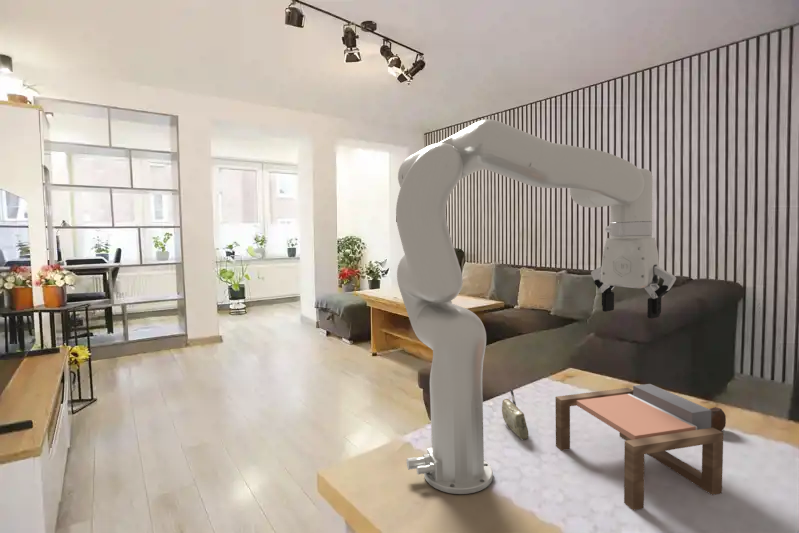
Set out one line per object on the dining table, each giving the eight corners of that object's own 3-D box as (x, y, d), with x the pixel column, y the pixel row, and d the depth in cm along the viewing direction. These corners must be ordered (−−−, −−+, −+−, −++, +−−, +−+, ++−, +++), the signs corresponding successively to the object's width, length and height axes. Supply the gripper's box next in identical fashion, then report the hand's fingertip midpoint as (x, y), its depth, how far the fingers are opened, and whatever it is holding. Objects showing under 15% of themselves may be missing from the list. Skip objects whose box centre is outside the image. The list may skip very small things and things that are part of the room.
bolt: (656, 415, 109) (721, 438, 95) (643, 408, 107) (707, 431, 93) (663, 393, 110) (729, 412, 96) (651, 386, 108) (716, 405, 94)
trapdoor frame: (633, 510, 70) (633, 446, 69) (555, 445, 92) (555, 396, 91) (721, 493, 74) (723, 432, 73) (627, 435, 95) (627, 387, 95)
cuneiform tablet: (516, 416, 107) (539, 438, 95) (499, 421, 106) (520, 444, 95) (510, 388, 106) (532, 407, 95) (493, 393, 106) (513, 413, 94)
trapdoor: (634, 453, 73) (635, 424, 73) (576, 414, 89) (576, 390, 88) (715, 440, 77) (716, 412, 76) (646, 405, 92) (646, 382, 92)
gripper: (581, 232, 95) (581, 310, 97) (664, 230, 81) (663, 323, 82) (603, 231, 99) (602, 306, 101) (685, 229, 85) (684, 318, 86)
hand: (629, 314), depth 91 cm, fingers open, 9 cm apart
